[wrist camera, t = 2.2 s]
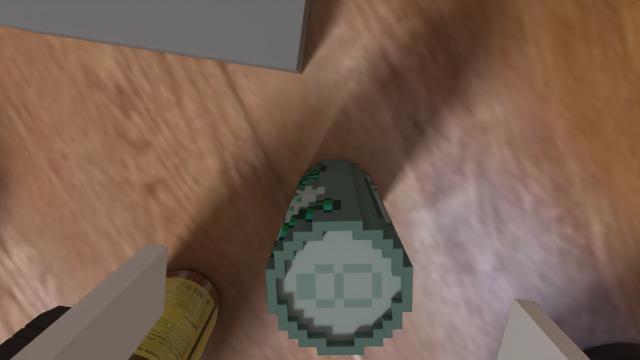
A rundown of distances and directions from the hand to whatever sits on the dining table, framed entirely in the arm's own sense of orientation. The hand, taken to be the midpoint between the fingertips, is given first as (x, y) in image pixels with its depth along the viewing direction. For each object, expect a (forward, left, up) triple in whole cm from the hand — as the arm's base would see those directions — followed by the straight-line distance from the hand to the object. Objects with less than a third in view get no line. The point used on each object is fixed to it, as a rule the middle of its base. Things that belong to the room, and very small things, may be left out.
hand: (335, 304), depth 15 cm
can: (0, 0, -17) cm, 17 cm away
